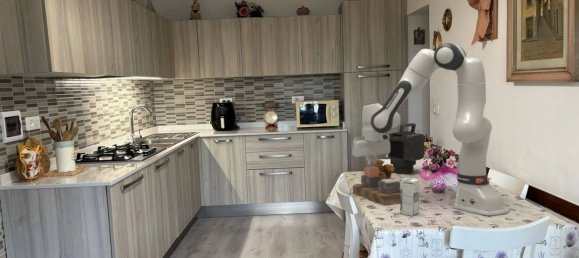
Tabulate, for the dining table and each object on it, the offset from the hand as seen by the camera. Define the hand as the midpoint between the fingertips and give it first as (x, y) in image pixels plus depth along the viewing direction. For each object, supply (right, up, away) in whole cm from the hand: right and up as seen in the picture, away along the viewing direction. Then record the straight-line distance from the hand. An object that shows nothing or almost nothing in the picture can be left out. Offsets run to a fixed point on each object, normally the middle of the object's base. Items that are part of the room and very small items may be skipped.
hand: (371, 164), depth 214 cm
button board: (+3, -15, -5) cm, 16 cm away
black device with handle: (+30, -10, +51) cm, 60 cm away
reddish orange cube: (0, -6, +1) cm, 6 cm away
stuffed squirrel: (+11, -12, +28) cm, 32 cm away
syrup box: (+10, -18, -33) cm, 38 cm away
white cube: (+6, -11, -12) cm, 17 cm away
